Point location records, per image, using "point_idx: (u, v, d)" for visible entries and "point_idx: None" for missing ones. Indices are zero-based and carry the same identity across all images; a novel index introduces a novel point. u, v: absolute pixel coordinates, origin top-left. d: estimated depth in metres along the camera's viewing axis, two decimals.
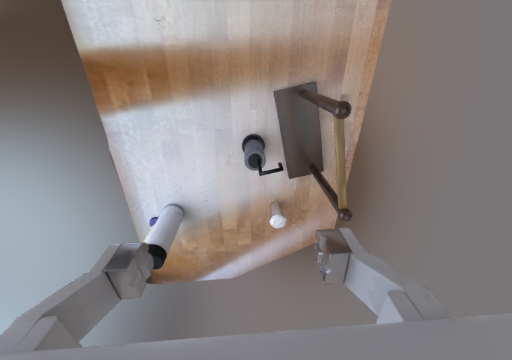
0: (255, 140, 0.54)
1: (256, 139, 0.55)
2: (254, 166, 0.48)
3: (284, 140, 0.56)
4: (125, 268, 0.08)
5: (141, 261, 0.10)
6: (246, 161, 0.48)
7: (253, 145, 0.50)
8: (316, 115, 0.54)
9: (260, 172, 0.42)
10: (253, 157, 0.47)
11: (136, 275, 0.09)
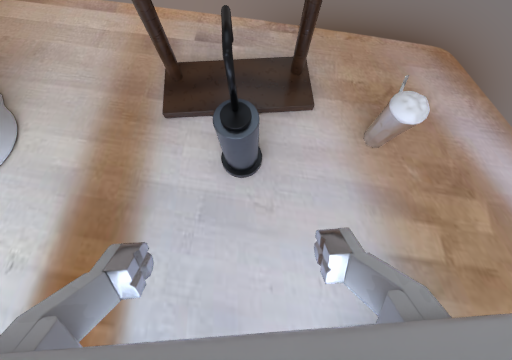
0: None
1: None
2: (246, 117, 0.21)
3: None
4: (125, 268, 0.08)
5: (141, 261, 0.10)
6: (233, 135, 0.21)
7: None
8: (211, 63, 0.36)
9: None
10: (225, 116, 0.21)
11: (136, 275, 0.09)
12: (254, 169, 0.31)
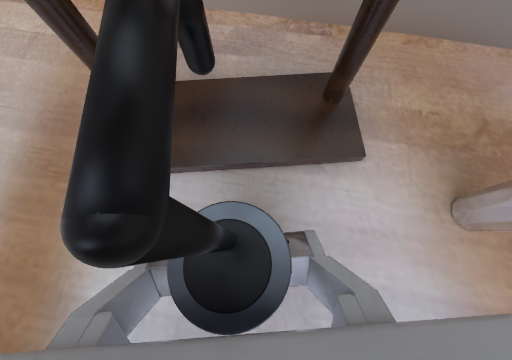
0: None
1: None
2: (257, 274, 0.07)
3: (242, 159, 0.20)
4: None
5: None
6: (221, 321, 0.08)
7: None
8: (195, 84, 0.23)
9: None
10: (198, 272, 0.07)
11: None
12: None
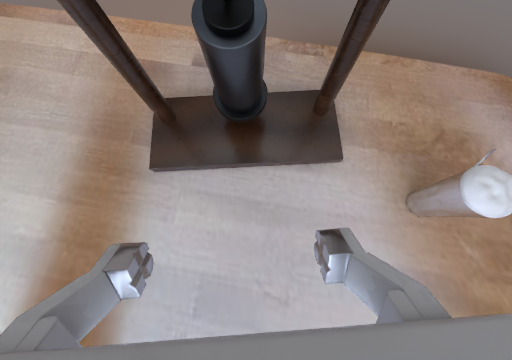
0: None
1: None
2: (245, 10, 0.13)
3: (248, 160, 0.26)
4: (125, 269, 0.08)
5: (141, 261, 0.10)
6: (225, 42, 0.13)
7: None
8: (212, 99, 0.28)
9: None
10: (210, 8, 0.13)
11: (136, 275, 0.09)
12: (257, 111, 0.23)
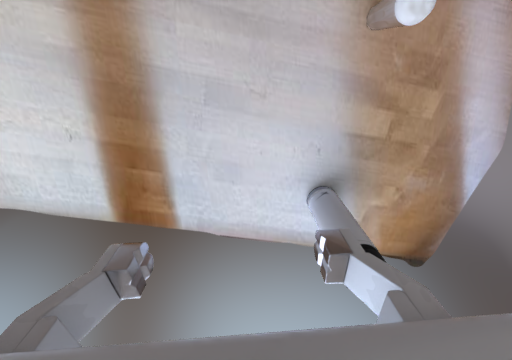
0: None
1: None
2: None
3: None
4: (125, 268, 0.08)
5: (141, 261, 0.10)
6: None
7: None
8: None
9: None
10: None
11: (136, 275, 0.09)
12: None
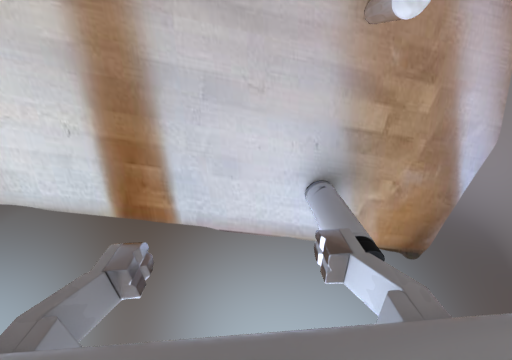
0: None
1: None
2: None
3: None
4: (125, 268, 0.08)
5: (141, 261, 0.10)
6: None
7: None
8: None
9: None
10: None
11: (136, 275, 0.09)
12: None
